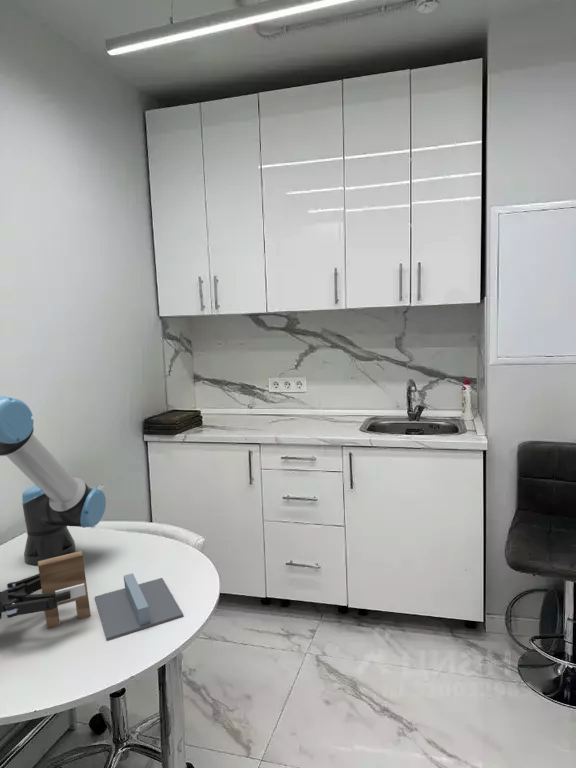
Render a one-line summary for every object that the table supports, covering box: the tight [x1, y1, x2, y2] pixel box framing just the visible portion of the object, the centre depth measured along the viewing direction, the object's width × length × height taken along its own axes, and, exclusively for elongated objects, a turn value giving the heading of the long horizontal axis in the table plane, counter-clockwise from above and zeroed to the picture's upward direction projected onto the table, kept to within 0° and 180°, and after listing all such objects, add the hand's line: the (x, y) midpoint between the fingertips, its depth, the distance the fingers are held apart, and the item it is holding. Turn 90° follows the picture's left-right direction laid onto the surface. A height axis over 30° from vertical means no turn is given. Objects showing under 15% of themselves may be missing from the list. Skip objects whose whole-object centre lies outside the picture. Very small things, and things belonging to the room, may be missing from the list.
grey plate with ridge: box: [94, 573, 184, 641], centre depth 138 cm, size 22×18×5 cm
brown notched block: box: [37, 550, 92, 630], centre depth 134 cm, size 3×10×16 cm, turn 116°
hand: (82, 580), depth 136 cm, fingers open, 10 cm apart
